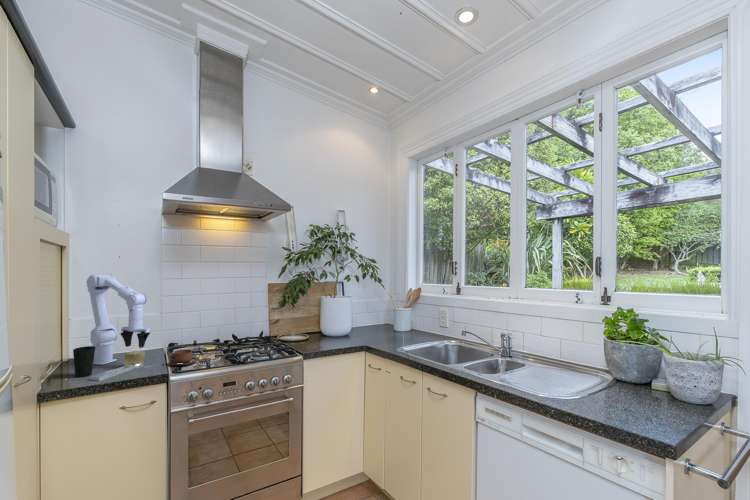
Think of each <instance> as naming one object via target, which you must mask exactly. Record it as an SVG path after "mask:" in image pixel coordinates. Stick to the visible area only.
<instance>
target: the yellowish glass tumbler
mask: <svg viewBox="0 0 750 500" xmlns="http://www.w3.org/2000/svg"><path fill="white" fill-rule="evenodd" d="M145 355H146V352H145V350H144V351H143V350H134V351H129V352H126V353H124V363H123V364H124V365H125V364H127V365H136V364H139V363H142V362H143V363H144V362H145Z"/></svg>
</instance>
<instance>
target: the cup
mask: <svg viewBox="0 0 750 500" xmlns="http://www.w3.org/2000/svg"><path fill="white" fill-rule="evenodd" d="M95 348H96V347H94V346H92V345H88V346H80V347H76V348H74V349H72V355H73V364H74V366H73V368H74V377H75V378H78V379H80V378H85V377H86V378H87V377H91V376H92V374H93V367H94V364H93V362H94V355H95Z"/></svg>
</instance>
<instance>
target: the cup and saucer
mask: <svg viewBox="0 0 750 500" xmlns="http://www.w3.org/2000/svg"><path fill="white" fill-rule="evenodd" d="M192 355H193V351H192V350H191V349H181V350H176V351H175V352H174V354H170V355H169V356H168V360H169V364H170V365H171V366H174V365H184V366H188V364H189V365H192V364H194V363H195V362H197V359H198V358H197V357H194V356H192ZM171 357H174V358H171ZM192 358H193V359H194V360H195V361H192V362H190V361H191V359H192ZM174 360H175V362H176V363H183V364H173V361H174Z"/></svg>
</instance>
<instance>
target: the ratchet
mask: <svg viewBox="0 0 750 500" xmlns="http://www.w3.org/2000/svg"><path fill="white" fill-rule="evenodd" d="M143 366H144V362H142V363H139V364H136V365H127V364H124V365H122V366H121V367H116V368H114V369H112V370H106V371H103V372H99V373H96V374H94V375H90V381H94V380H97V381H96V382H101V381H104V380H107V379H109V378H112V377H115V376H117V375H120V374H123V373H125V372H130V371H131V370H137V369H140V368H143Z"/></svg>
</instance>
